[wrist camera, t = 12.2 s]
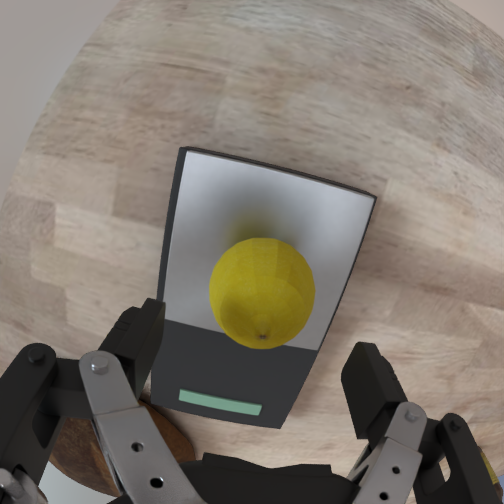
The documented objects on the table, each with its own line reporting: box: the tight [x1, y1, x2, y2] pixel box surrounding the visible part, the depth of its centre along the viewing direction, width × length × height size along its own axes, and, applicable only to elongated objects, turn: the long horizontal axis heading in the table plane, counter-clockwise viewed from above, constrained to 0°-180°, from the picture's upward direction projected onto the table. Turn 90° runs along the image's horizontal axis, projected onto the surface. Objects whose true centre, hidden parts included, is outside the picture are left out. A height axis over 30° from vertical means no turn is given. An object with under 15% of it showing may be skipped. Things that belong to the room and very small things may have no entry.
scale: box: [150, 146, 377, 429], centre depth 25 cm, size 14×25×4 cm, turn 167°
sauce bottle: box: [478, 447, 503, 504], centre depth 29 cm, size 6×6×20 cm
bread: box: [49, 400, 196, 497], centre depth 30 cm, size 28×27×9 cm
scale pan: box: [163, 150, 374, 350], centre depth 20 cm, size 12×12×1 cm
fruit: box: [209, 238, 316, 349], centre depth 16 cm, size 6×6×8 cm
